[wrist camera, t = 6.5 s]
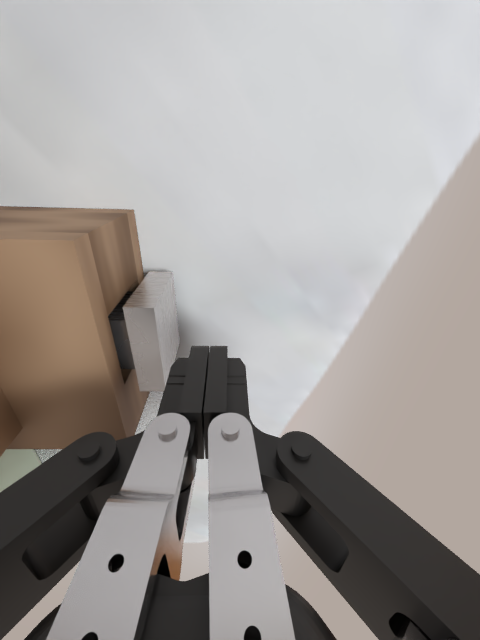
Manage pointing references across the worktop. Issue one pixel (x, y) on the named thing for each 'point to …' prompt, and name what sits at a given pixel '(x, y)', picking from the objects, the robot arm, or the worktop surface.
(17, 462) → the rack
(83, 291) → the socket block
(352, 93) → the worktop surface
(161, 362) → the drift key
